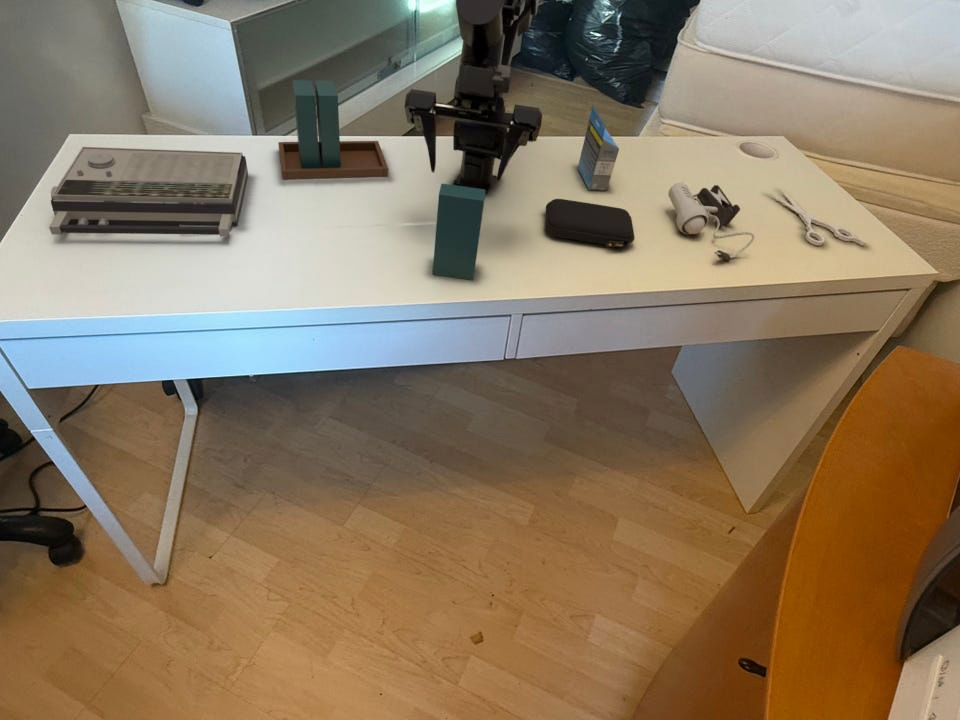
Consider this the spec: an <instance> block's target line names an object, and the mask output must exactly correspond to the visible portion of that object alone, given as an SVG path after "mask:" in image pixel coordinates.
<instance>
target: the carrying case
mask: <svg viewBox="0 0 960 720" xmlns="http://www.w3.org/2000/svg"><path fill="white" fill-rule="evenodd" d="M544 214H545V215H544V217H545V218H544V227H545V229H546V231H548V234H550V235H551V236H552V237H555V238H561V239H566V240H571V241H572V240H574V241H579V242H584V243H585V242H586V243H591V244H599V245H605V246H606V247H608V248H613V247H618V248H619V247H620V248H621V247H622V248H623V247H627V246H629V245H631V244H632V243H633V242H634V241H635V232H634V225H633V219H632V216H631V215H630V213H629V212H628V211H627V210H626V209H625V208H621V207H620V208H619V207H615V206H609V205H603V204H598V203H590V202H583V201H578V200H572V199H564V198H553V199H552V200H550V201H549V202H547V203H546V205H545V213H544Z"/></svg>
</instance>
